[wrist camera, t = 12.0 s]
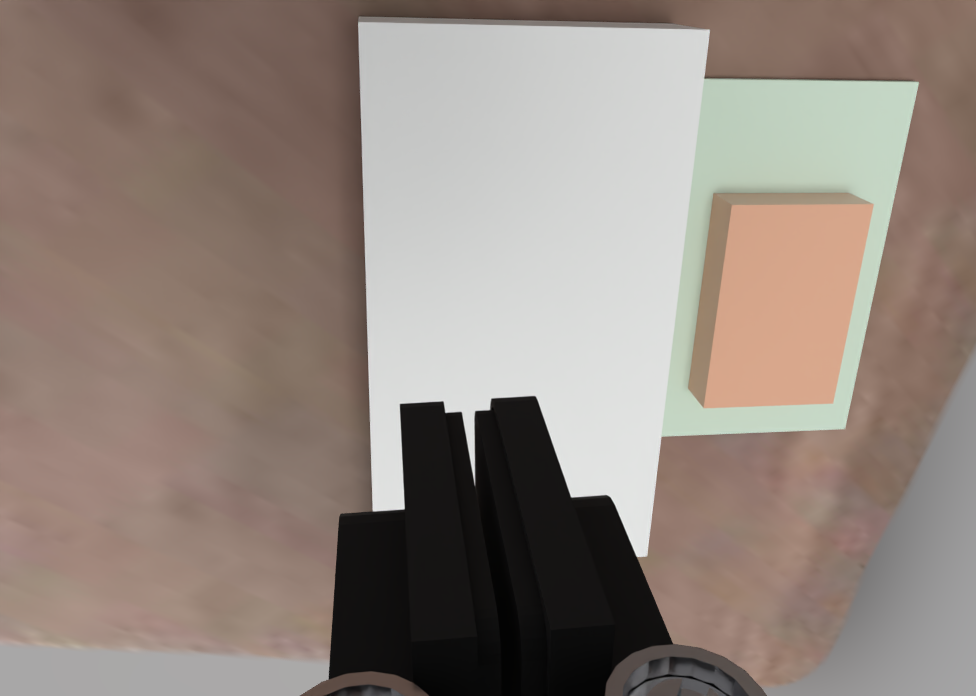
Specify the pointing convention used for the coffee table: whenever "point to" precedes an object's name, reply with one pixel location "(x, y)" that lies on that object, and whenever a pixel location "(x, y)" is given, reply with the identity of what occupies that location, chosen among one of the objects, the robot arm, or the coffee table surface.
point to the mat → (787, 169)
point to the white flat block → (528, 233)
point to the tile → (777, 297)
